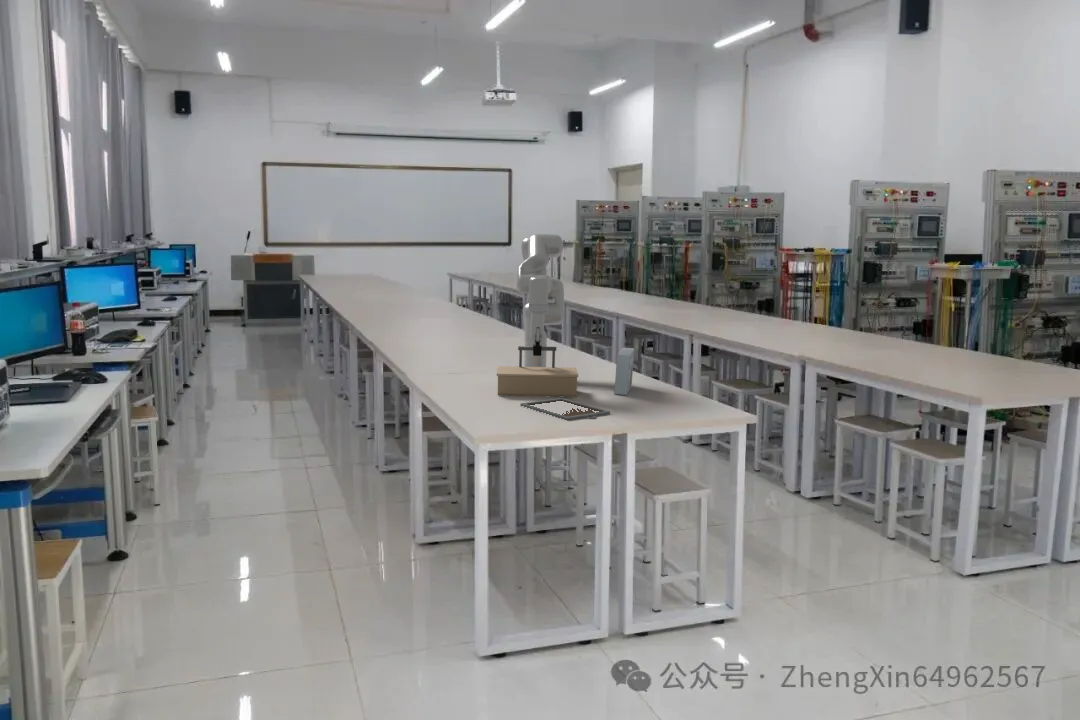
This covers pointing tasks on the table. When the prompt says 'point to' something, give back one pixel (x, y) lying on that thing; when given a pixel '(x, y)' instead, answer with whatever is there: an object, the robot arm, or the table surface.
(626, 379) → the skincare box
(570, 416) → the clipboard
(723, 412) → the table surface
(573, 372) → the lid
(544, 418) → the table surface
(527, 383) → the mailer box
